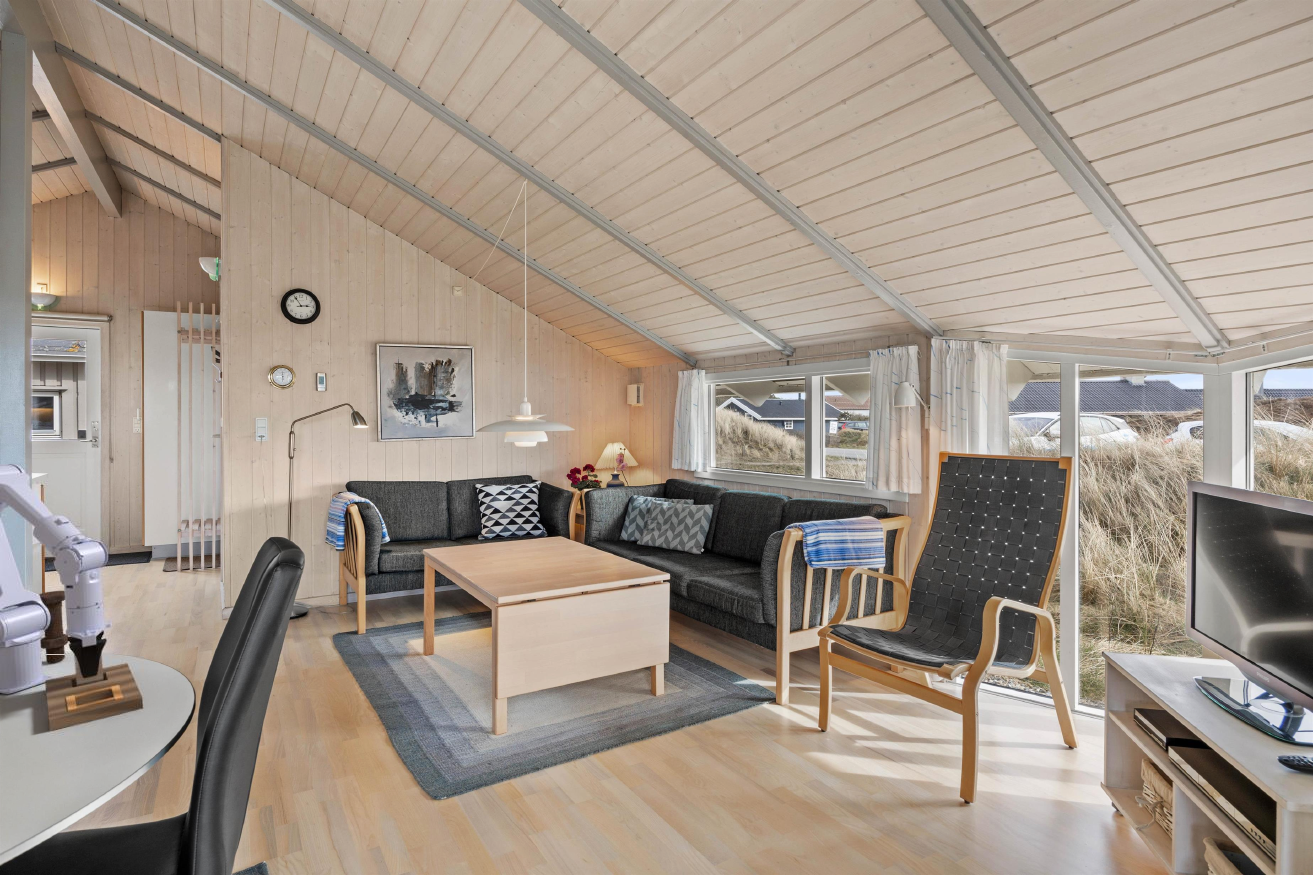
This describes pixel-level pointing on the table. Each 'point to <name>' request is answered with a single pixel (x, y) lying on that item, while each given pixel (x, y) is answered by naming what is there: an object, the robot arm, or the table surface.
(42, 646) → the bolt
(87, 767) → the table surface
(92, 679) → the steel peg
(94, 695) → the wooden peg hole board
